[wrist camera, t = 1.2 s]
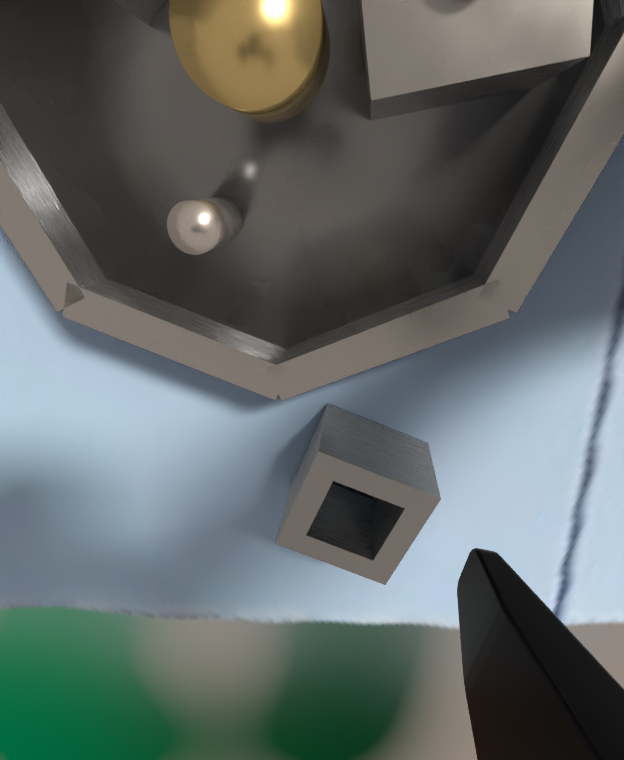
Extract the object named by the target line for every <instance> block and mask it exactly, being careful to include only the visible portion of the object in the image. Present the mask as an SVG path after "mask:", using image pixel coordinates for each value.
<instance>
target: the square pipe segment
mask: <svg viewBox="0 0 624 760" xmlns="http://www.w3.org/2000/svg"><path fill="white" fill-rule="evenodd" d="M333 481H335V482H337V483H340V484H343V485H345V486H348V487H350V488H353V489H356V490H358V491H361V492H363V493H366V494H368V495H371V496H374V497H373V499H371V498H368V497H366V496H363V495H361V494H358V493H355V492H353V491H350V490H348V489H345V488H342V487H340V486H337V485H335V484H332V482H333ZM440 499H441V498H440V493H439V489H438V485H437V480H436V476H435V471H434V467H433V463H432V458H431V454H430V449H429V445H428V443H426V442H423V441H421V440H418V439H416V438H413V437H411V436H408V435H406V434H403V433H401V432H398V431H396V430H393V429H391V428H388V427H385V426H383V425H380V424H378V423H375V422H373V421H370V420H368V419H365V418H363V417H360V416H358V415H355V414H353V413H350V412H347V411H345V410H342V409H340V408H337V407H335V406H332V405H330V404H327V405H326V408H325V410H324V412H323V414H322V417H321V419H320V421H319V423H318V425H317V428H316V430H315V432H314V434H313V437H312V439H311V441H310V443H309V445H308V448H307V450H306V452H305V454H304V457H303V459H302V461H301V463H300V466H299V468H298V470H297V472H296V474H295V477H294V479H293V481H292V483H291V486H290V490H289V494H288V497H287V501H286V505H285V509H284V513H283V517H282V521H281V525H280V529H279V532H278V536H277V540H276V544H278V545H281V546H284V547H286V548H289V549H292V550H294V551H297V552H300V553H302V554H305V555H308V556H310V557H313V558H315V559H318V560H321V561H323V562H326V563H329V564H331V565H334V566H337V567H339V568H342V569H345V570H347V571H350V572H353V573H355V574H358V575H360V576H363V577H366V578H368V579H371V580H374V581H376V582H379V583H382V584H384V585H386V583H387V582H388V580H389V578H390V577H391V575H392V574H393V572H394V571H395V569H396V568H397V566H398V565H399V563H400V561H401V560H402V558H403V557H404V555H405V554H406V552H407V551H408V549H409V547H410V546H411V544H412V543H413V541H414V540H415V538H416V537H417V535H418V534H419V532H420V530H421V529H422V527H423V526H424V524H425V523H426V521H427V520H428V518H429V516H430V515H431V513H432V512H433V510H434V509H435V507H436V506H437V504H438V503H439V501H440Z"/></svg>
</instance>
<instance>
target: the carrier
mask: <svg viewBox="0 0 624 760" xmlns="http://www.w3.org/2000/svg"><path fill="white" fill-rule="evenodd" d="M623 135H624V0H0V226H1V227H2V229H3V231H4V232H5V234H6V235H7V237H8V238H9V240H10V241H11V243H12V244H13V246H14V247H15V249H16V250H17V252H18V253H19V255H20V257H21V258H22V260H23V261H24V263H25V264H26V266H27V267H28V269H29V270H30V272H31V273H32V275H33V276H34V278H35V279H36V281H37V283H38V284H39V286H40V287H41V289H42V290H43V292H44V293H45V295H46V296H47V298H48V299H49V301H50V302H51V304H52V305H53V307H54V309H55V310H56V312H58V311H61V310H63V315H62V317H64V318H67V319H69V320H72V321H75V322H77V323H80V324H82V325H85V326H87V327H90V328H92V329H95V330H97V331H100V332H102V333H105V334H108V335H110V336H113V337H115V338H118V339H120V340H123V341H125V342H128V343H130V344H133V345H136V346H138V347H141V348H143V349H146V350H148V351H151V352H153V353H156V354H158V355H161V356H164V357H166V358H169V359H171V360H174V361H176V362H179V363H181V364H184V365H186V366H189V367H192V368H194V369H197V370H199V371H202V372H204V373H207V374H209V375H212V376H214V377H217V378H219V379H222V380H225V381H227V382H230V383H232V384H235V385H237V386H240V387H242V388H245V389H247V390H250V391H253V392H255V393H258V394H260V395H263V396H265V397H268V398H270V399H273V400H276V398H277V396H278V394H279V396H280V398H281V400H285V399H288V398H290V397H293V396H296V395H299V394H301V393H304V392H307V391H310V390H312V389H315V388H318V387H321V386H324V385H326V384H329V383H332V382H335V381H337V380H340V379H343V378H346V377H348V376H351V375H354V374H357V373H359V372H362V371H365V370H368V369H371V368H373V367H376V366H379V365H382V364H384V363H387V362H390V361H393V360H395V359H398V358H401V357H404V356H407V355H409V354H412V353H415V352H418V351H420V350H423V349H426V348H429V347H431V346H434V345H437V344H440V343H443V342H445V341H448V340H451V339H454V338H456V337H459V336H462V335H465V334H467V333H470V332H473V331H476V330H479V329H481V328H484V327H487V326H490V325H492V324H495V323H498V322H501V321H503V320H506V319H509V318H510V315H509V312H508V310H510V311H513V312H515V313H517V311H518V310H519V308H520V306H521V305H522V303H523V301H524V300H525V298H526V296H527V295H528V293H529V291H530V290H531V288H532V286H533V285H534V283H535V281H536V280H537V278H538V276H539V275H540V273H541V271H542V270H543V268H544V266H545V265H546V263H547V261H548V260H549V258H550V256H551V255H552V253H553V251H554V250H555V248H556V246H557V245H558V243H559V241H560V240H561V238H562V236H563V235H564V233H565V231H566V230H567V228H568V226H569V225H570V223H571V221H572V220H573V218H574V216H575V215H576V213H577V211H578V210H579V208H580V206H581V205H582V203H583V201H584V200H585V198H586V196H587V195H588V193H589V191H590V190H591V188H592V186H593V185H594V183H595V181H596V180H597V178H598V176H599V175H600V173H601V171H602V170H603V168H604V166H605V165H606V163H607V161H608V160H609V158H610V156H611V155H612V153H613V151H614V150H615V148H616V146H617V145H618V143H619V141H620V140H621V138H622V136H623Z"/></svg>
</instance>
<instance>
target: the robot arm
mask: <svg viewBox="0 0 624 760" xmlns="http://www.w3.org/2000/svg"><path fill="white" fill-rule="evenodd" d="M457 597H458V611H459V625H460V638H461V651H462V665H463V676H464V684H465V691H466V698H467V703H468V708H469V714H470V720H471V726H472V731H473V737H474V742H475V748H476V754H477V759H478V760H624V689H623V688H622V687H621V686H620V684H619V683H618V682H617V681H616V680H615V679H614V678H613V677H612V676H611V675H610V674H609V673H608V671H606V669H605V668H604V667H603V666H602V665H601V664H600V663H599V662H598V661H597V660H596V659H595V657H594V656H593V655H592V654H591V653H590V652H589V651H588V650H587V649H586V648H585V647H584V646H583V644H581V642H580V641H579V640H578V639H577V638H576V637H575V636H574V635H573V634H572V633H571V632H570V631H569V630H568V628H567V627H566V626H565V625H564V624H563V623H562V622H561V621H560V620H559V619H558V618H557V616H556V615H555V614H554V613H553V612H552V611H551V610H550V609H549V608H548V607H547V606H546V605H545V604H544V602H543V601H542V600H541V599H540V598H539V597H538V596H537V595H536V594H535V593H534V592H533V591H532V590H531V588H530V587H529V586H528V585H527V584H526V583H525V582H524V581H523V580H522V579H521V578H520V577H519V576H518V574H517V573H516V572H515V571H514V570H513V569H512V568H511V567H510V566H509V565H508V564H507V563H506V562H505V560H504V559H503V558H502V557H501V556H500V555H499V554H498V553H496V552H493V551H489V550H484V549H479V548H475V549H473V550H472V551H471V552H470V554H469V556H468V559H467V561H466V564H465V566H464V568H463V571H462V573H461V576H460V578H459V581H458V587H457Z"/></svg>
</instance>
